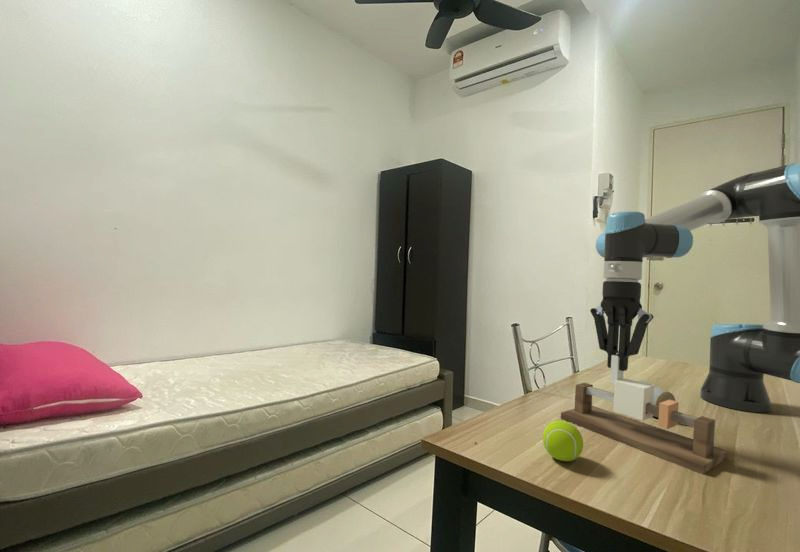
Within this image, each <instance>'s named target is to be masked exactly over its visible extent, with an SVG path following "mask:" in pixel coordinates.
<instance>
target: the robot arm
mask: <svg viewBox="0 0 800 552" xmlns="http://www.w3.org/2000/svg"><path fill="white" fill-rule="evenodd" d="M751 217H758V222H759V224H761V225H763V226H765V228H767V243H768V244H767V246H768V249H767V250H768V251H767V252H768V276H769V277H768V279H769V281H768V283H769V285H768V287H769V314H770V315H769V317H770V318H769V319H770V320H769V321H767V322H766V323H765V324H756V323H755V324H754V323H753V324H752V323H751V324H750V323H748V324H747V323H717V324H714V325H713V326H712V327H711V333H710V340H709V341H710V344H709V347H710V348H709V349H710V350H709V368H708V369H709V370H708V371H709V372H708V374H707V375H706V378H705V379H704V382H703V383H702V386H701V387H700V395H699V396H700V398H701V399H702V400H704V401H706V402H708V403H711V404H713V405H717V406H721V407H723V408H724V407H725V408H728V409H732V410H733V409H734V410H738V411H742V412H743V411H744V412H751V413H769V412H771V411H772V410H771V409H772V402H771V400H770V397H769V393H768V391H767V387H766V385H765V382H764V375H768V376H771V377H775V378H779V379H783V380H787V381H791V382H793V383H795V384H796V383H797V384H800V162H795V163H790V164H787V165H782V166H778V167H774V168H770V169H765V170H761V171H758V172H757V171H756V172H751V173H747V174H744V175H740V176H739V177H736V178H734V179H731V180H729V181H726V182H724V183H721V184H720V185H717V186H714V187H712V188H710V189H709V190H704V191H703V192H702V193H700V194H699V195H698V196H697V197H696V198H695V199H693V200H690V201H688V202H685V203H682V204H679V205H676V206H674V207H671V208H669V209H667V210H665V211H662V212H660V213H657V214H654V215H652V216H649V217H647V218H646V215H645V214H644V213H643V212H640V211H627V210H626V211H619V212H618V211H617V212H613V213H611V214H609V215H608V216H607V218H606V224H605V231H604V232H603V233H601V234H599V235H598V236H597V238H596V241H595V249H596V252H597V254H598V255H599V256H600V257H602V258H603V259H604V261H603V278H604V279H605V280H604V281H603V282H602V300H601V302H600V304H599V305H598V306H596V307H593V308H591V309H590V313H591V315H592V317H593V320H594V325H595V330H596V336H597V342H598V348H599V350H601V351H604V352H606V353H607V363H606V366H607V368H609V369H610V377H609V378H610V379H609V380H610V381H609V384H610V385H614V386H615V381H616V380H620V379H624V372H625V371H626V372H627V370H628V369H629V367H628V366H629V357H630V356H636V355H638V354H639V351H640V349H641V345H642V343H643V339H644V337H645V333H646V331H647V328H648V325H649V324H650V322H651V321H652V320H653V319H654V315H653V314H652V313H649V312H646V311H645V310H644V309H643V306H642V304H641V295H642V284H641V282H639V281H641V280H642V279H643V261H644V260H643V258H666V259H672V258H681V257H683V256H685V255H687V254H688V253H689V252H690V251H691V249H692V247H693V243H694V236H693V234H692V232H691V231H694V230H696V229H698V228H701V227H703V226H705V225H707V224H719V223H720V224H721V223H722V222H725V221H729V220H733V219H740V218H751ZM604 314H605V316H606V317H607V319H605V316H604ZM636 317H637V321H636V324H635V327H634V330H633V333H632V334H631V330H632V326H633V320H634V319H635V318H636ZM606 320H607V322H606ZM606 323H607V325H606ZM607 326H608V327H607Z"/></svg>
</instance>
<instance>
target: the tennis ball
mask: <svg viewBox="0 0 800 552" xmlns="http://www.w3.org/2000/svg"><path fill="white" fill-rule="evenodd" d="M542 442H543V446H544V448H545V450H546V452H547V453H548V454H549V455H550V456H551V457H552V458H554V459H555V460H558V461H561V462H572V461H574V460H576V459H578V458H579V457H580V455H581V453H582V452H583V449H584V439H583V436H582V434H581V432H580V430H579V429H578V428H577V426H575V424H573V423H570V422H568V421H565V420H554V421H551V422H550V423H549V424H547V425H546V427H545V428H544V430H543V433H542Z"/></svg>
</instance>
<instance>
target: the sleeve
mask: <svg viewBox="0 0 800 552" xmlns="http://www.w3.org/2000/svg"><path fill="white" fill-rule="evenodd" d="M638 381H639V380H633V379H630V378H626V377H625V378H624V377H623V379H620V380H616V381H615V385H614V387H613V389H614V392H613V393H614V402H613V407H612V408H613V409H612V410H613V412H614V413H617V414H620V415H623V416H626V417H629V418H632V419H635V420H638V421H641V422H642V421H646V420H647V419H651V418H653V417H654V416H653V414H650V413H647V412H646V404H647V403H649V404H653V400H654V386H655V384H652V385H650V384H651V383H650V384H646V383H642V382H638Z"/></svg>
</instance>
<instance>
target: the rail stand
mask: <svg viewBox="0 0 800 552" xmlns="http://www.w3.org/2000/svg"><path fill="white" fill-rule="evenodd" d="M593 386H594V385H593V384H591V383H588V382H582V383H578V384H577V383H576V384H575V392H574V394H575V396H574V408H572V409H569V410H568V409H567V410H566V411H565V410H564V411H562V412H560V419H561V420H562V421H566V422H569V423H571V424H572V425H576V426H578V427H581V428H583V429H586V430H588V431H592V432H593V433H596V434H599V435H600V436H604V437H607V438H609V439H611V440H614V441H616V442H620V443H622V444H625V445H626V446H627V445H628V446H629V447H632V448H635V449H637V450H640V451H642V452H646V453H647V454H650V455H653V456H655V457H658V458H659V459H663V460H666V461H668V462H671V463H673V464H675V465H678V466H681V467H683V468H686V469H689V470H692V471H693V472H696V473H699V474H702V475H704V474H707V473H708V472H709V471H710V470H712V469H713V468H715V467H717V466H718V465H720V464H721V463H722V462H724V460H727V458H728V450H726V449H724V448H720V447H717V446H715V445H714V444H715V428H716V419H714V418H710V417H707V416H703V415H702V416H699V417H697V416H693V415H690V414H686V413H683V412H680V411H678V412H677V411H673V412H671V420H672V421H676V422H677V423H679V424H683V425H686V426H689V427H692V428H693V437H691V438H690V437H687V436H684V435H681V434H678V433H676V432H672V431H669V430H668V429H664V428H661V427H658V426H654V425H651V424H648V423H645V422H642V421H641V420H638V419H635V418H632V417H629V416H626V415H623V414H620V413H617V412H614V411H613V412H612V411H609V410H606V409H603V408H600V407H597V406H594V405H593V397H595V398H599V399H602V400H605V401H608V402H612V403H614V392H611V391H607V390H604V389H601V388H597V387H593ZM646 412H647V413H650V414H653V415H656V416H659V406H656V405H653V404H649V403H647V404H646Z"/></svg>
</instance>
